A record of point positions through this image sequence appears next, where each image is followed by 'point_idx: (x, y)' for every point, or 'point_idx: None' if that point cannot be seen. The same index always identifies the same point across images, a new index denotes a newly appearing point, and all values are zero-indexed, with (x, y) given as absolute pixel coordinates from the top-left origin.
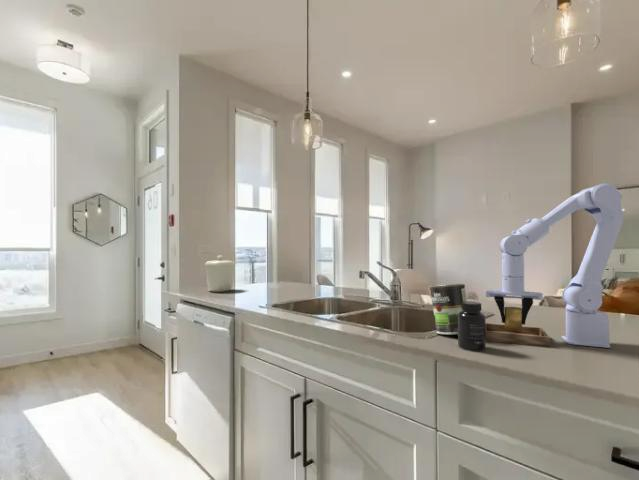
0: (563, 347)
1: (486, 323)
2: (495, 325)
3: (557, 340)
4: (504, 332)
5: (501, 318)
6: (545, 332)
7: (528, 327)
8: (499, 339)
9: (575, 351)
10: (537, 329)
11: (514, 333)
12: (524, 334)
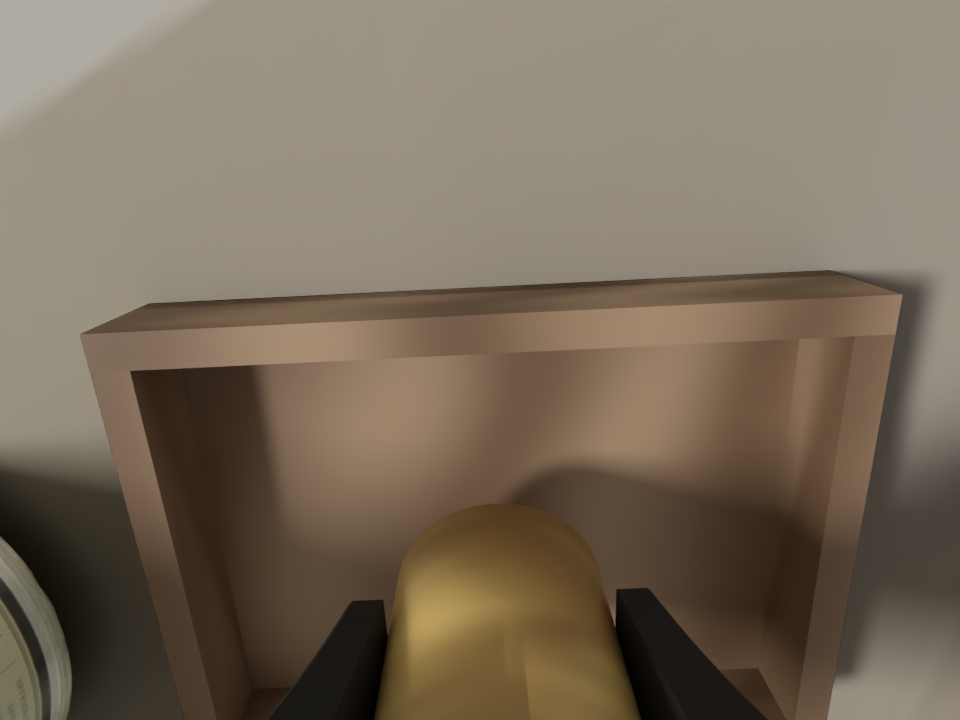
0: (895, 625)
1: (137, 355)
2: (271, 357)
3: (946, 382)
4: (403, 378)
5: (333, 633)
6: (854, 560)
7: (712, 341)
8: None
9: (946, 700)
10: (819, 333)
11: (516, 376)
12: (627, 372)
